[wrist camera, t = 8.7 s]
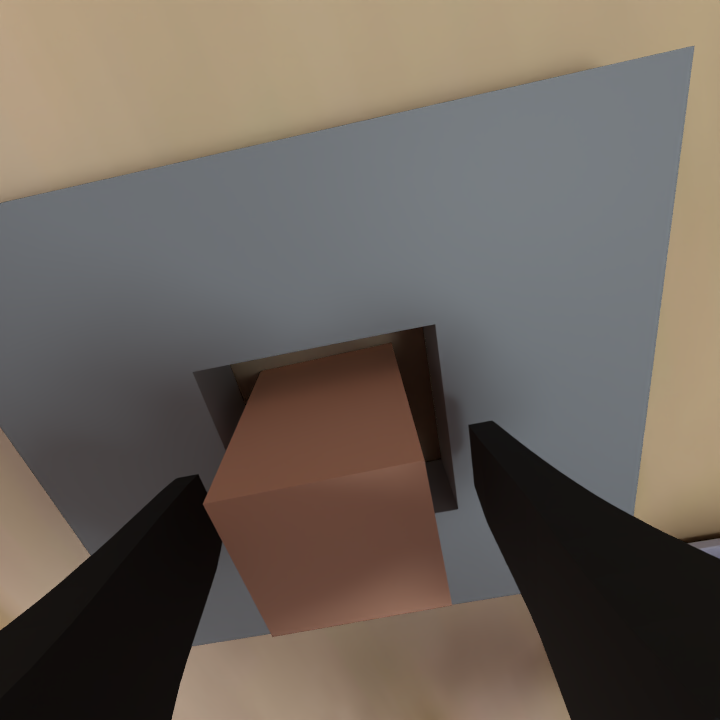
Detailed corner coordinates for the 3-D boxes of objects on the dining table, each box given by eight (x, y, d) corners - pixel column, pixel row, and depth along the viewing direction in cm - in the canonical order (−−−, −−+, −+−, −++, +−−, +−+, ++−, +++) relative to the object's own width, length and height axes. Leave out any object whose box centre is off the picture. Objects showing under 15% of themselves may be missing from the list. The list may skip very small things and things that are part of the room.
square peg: (391, 342, 13) (424, 459, 8) (413, 449, 15) (452, 605, 9) (260, 370, 13) (203, 503, 8) (298, 472, 15) (272, 637, 10)
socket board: (615, 75, 10) (694, 45, 8) (587, 522, 17) (625, 576, 14) (-37, 222, 11) (-136, 233, 9) (182, 591, 18) (158, 651, 15)
